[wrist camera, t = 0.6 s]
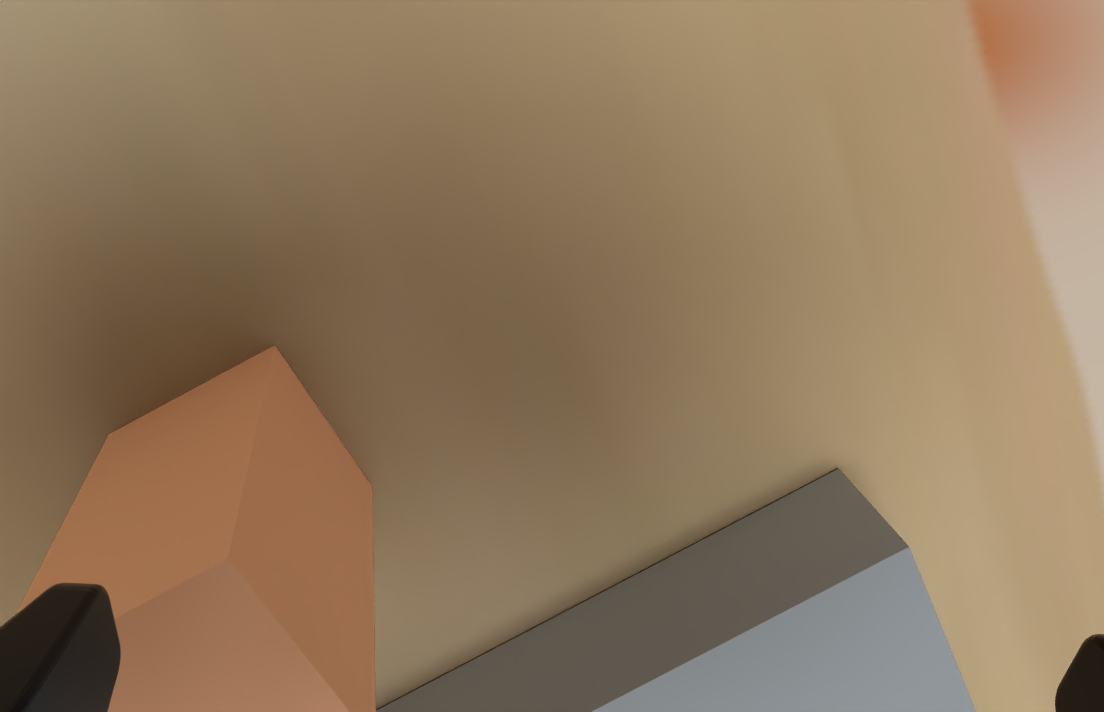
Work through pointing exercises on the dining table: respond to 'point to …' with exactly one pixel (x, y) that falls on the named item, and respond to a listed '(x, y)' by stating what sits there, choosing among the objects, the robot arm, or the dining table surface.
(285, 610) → the peg
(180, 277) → the dining table surface
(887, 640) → the socket block
